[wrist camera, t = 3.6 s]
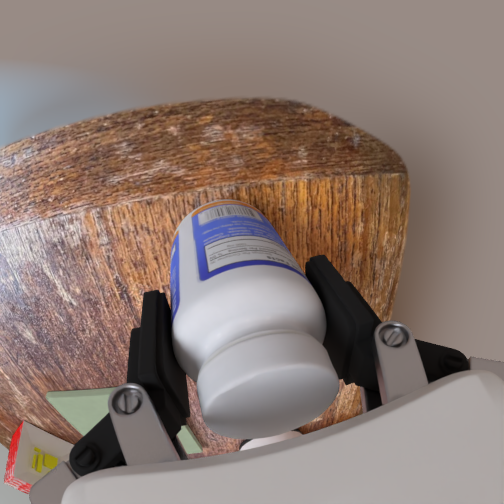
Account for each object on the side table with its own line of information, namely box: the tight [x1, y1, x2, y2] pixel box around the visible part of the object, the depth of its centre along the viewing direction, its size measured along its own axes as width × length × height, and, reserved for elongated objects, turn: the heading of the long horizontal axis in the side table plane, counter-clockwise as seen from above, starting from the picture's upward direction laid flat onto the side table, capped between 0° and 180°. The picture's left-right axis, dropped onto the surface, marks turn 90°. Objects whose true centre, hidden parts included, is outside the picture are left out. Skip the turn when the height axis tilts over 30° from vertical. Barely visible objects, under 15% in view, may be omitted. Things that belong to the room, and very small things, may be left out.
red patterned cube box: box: [4, 421, 74, 494], centre depth 22 cm, size 8×8×8 cm
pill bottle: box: [171, 199, 339, 439], centre depth 12 cm, size 5×5×10 cm
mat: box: [46, 387, 203, 454], centre depth 25 cm, size 14×12×1 cm
